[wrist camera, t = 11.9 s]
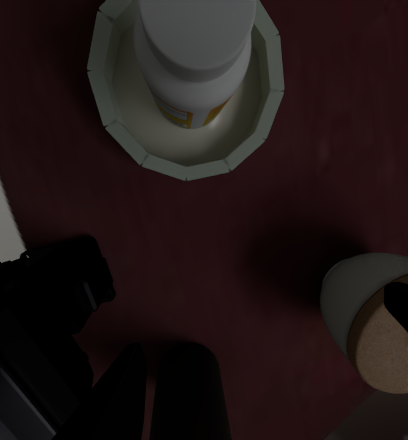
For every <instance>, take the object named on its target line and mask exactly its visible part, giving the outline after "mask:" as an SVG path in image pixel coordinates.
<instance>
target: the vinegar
mask: <svg viewBox="0 0 408 440" xmlns="http://www.w3.org/2000/svg"><path fill="white" fill-rule="evenodd" d="M149 440H232V439H231V433H230V427H229V421H228V416H227V410H226V404H225V398H224V393H223V387H222V381H221V375H220V370H219V364H218V361H217V359H216V357H215V355H214V354H213V353H212V352H211V351H210V350H208V349H206V348H204V347H202V346H198V345H184V346H179V347H177V348H175V349H172V350H171V351H170V352H168V353H167V354H166V355H165V356H164V357H163V359H162V360H161V362H160V364H159V367H158V372H157V380H156V388H155V396H154V405H153V413H152V421H151V429H150V438H149Z"/></svg>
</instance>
